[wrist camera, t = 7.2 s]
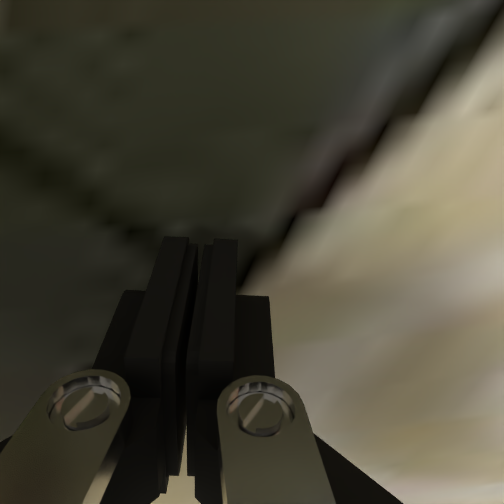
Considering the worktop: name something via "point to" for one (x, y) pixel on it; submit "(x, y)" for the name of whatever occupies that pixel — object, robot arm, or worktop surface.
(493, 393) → the worktop surface
